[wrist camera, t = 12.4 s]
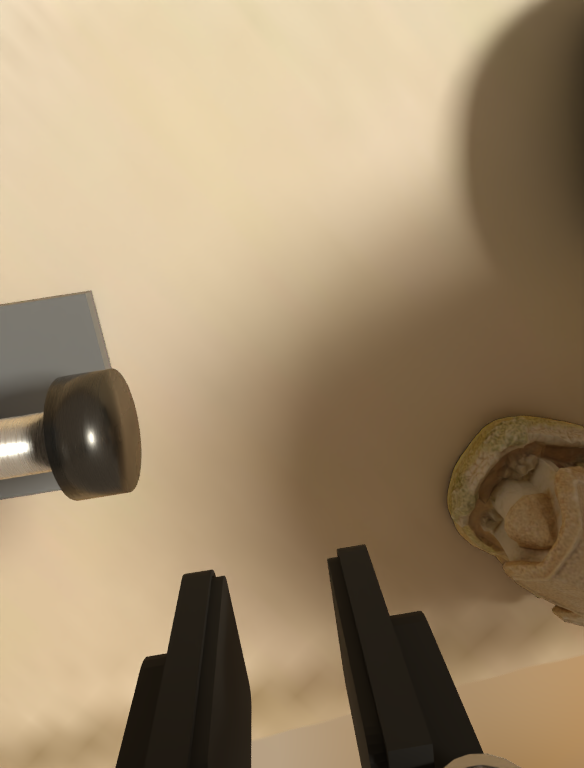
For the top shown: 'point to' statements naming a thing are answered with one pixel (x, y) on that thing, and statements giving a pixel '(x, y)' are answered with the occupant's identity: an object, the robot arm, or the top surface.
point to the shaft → (78, 437)
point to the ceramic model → (527, 505)
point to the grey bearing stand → (44, 362)
